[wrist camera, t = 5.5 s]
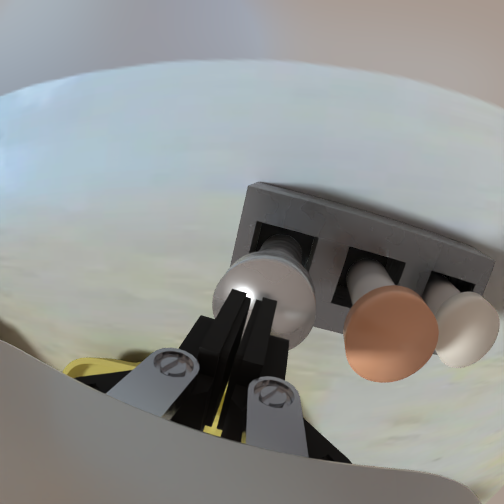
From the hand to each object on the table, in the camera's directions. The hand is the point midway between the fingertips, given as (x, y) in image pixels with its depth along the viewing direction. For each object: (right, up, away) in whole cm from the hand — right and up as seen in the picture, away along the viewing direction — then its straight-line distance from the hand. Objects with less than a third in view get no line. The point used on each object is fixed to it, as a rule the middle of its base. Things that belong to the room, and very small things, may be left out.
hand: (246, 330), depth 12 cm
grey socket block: (+8, +2, +12) cm, 15 cm away
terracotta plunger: (+8, +1, +9) cm, 12 cm away
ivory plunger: (+14, 0, +11) cm, 18 cm away
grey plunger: (+2, +3, +10) cm, 11 cm away
